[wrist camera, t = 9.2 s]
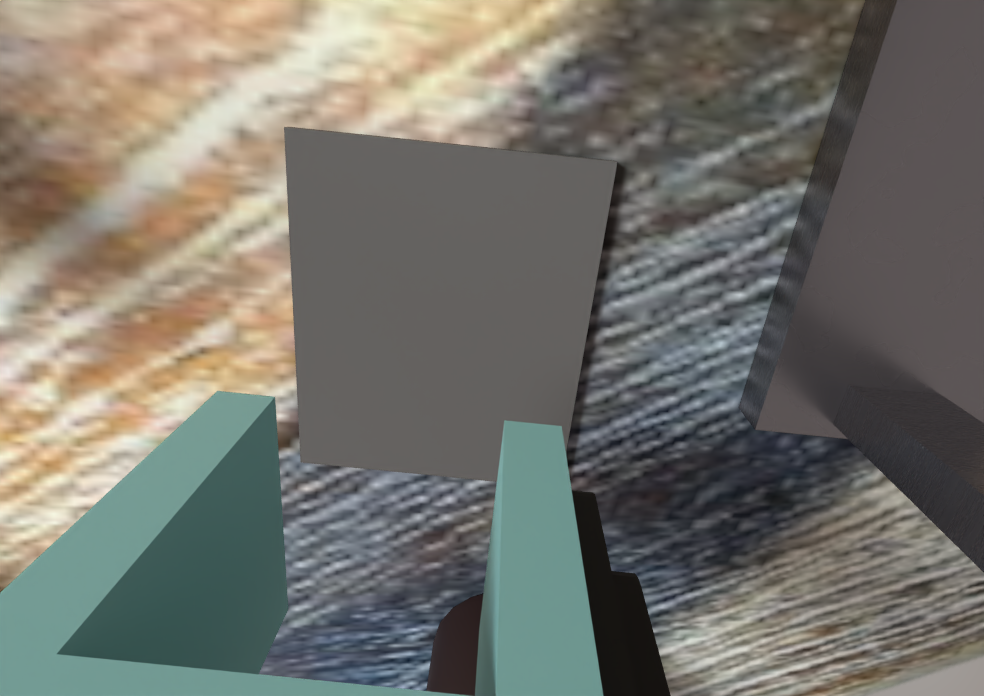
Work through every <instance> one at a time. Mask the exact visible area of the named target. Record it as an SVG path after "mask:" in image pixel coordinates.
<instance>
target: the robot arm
mask: <svg viewBox="0 0 984 696" xmlns="http://www.w3.org/2000/svg"><path fill="white" fill-rule="evenodd" d="M572 496H573V503H574V509H575V516H576V522H577V529H578V535H579V542H580V548H581V555H582V561H583V568H584V574H585V580H586V587H587V593H588V600H589V606H590V613H591V619H592V626H593V632H594V639H595V645H596V652H597V658H598V664H599V671H600V677H601V684H602V690H603V696H670V692H669V688H668V685H667V681H666V677H665V674H664V670H663V666H662V662H661V659H660V655H659V651H658V648H657V644H656V640H655V636H654V633H653V629H652V625H651V622H650V618H649V614H648V610H647V607H646V603H645V599H644V596H643V592H642V588H641V585H640V582H639V579H638V577H637V576H636V574H635V573H625V572H616V571H611V567H610V562H609V557H608V553H607V548H606V543H605V539H604V534H603V529H602V525H601V520H600V515H599V511H598V506H597V501H596V497H595V494H594V493H592V492H582V491H572Z"/></svg>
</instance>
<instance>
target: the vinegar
mask: <svg viewBox="0 0 984 696" xmlns="http://www.w3.org/2000/svg"><path fill="white" fill-rule="evenodd" d="M482 602H483V594H481V595H477V596H473V597H471V598H469V599H467V600H465V601H464V602H462V603H460V604H458V605H457V606H455V607H453V608H452V609H451V611H450V612H449V613H448V614H447V615H446V616H445V617H444V619H443V620H442V621H441V622H440V624H439V627H438V630H437V633H436V636H435V639H434V642H433V649H432V656H431V663H430V670H429V676H428V683H427V690H426V691H429V692H439V693H449V694H459V695H469V696H475V686H476V671H477V657H478V642H479V627H480V619H481V611H482Z"/></svg>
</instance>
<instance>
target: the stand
mask: <svg viewBox="0 0 984 696" xmlns="http://www.w3.org/2000/svg"><path fill="white" fill-rule="evenodd" d="M739 409H740V410H741V412H742V413H743V414H744V416H745V417H746V418H747V420H748V421H749V422H750V423H751V425H752V426H753V427H754V429H755V430H764V431H774V432H784V433H794V434H804V435H814V436H824V437H833V438H843V439H849V440H850V441H851V442H852V443H853V444H854V445H855V446H856V447H857V448H858V449H859V450H860V451H861V452H862V453H863V454H864V455H865V456H866V457H867V458H868V459H869V460H870V461H871V462H872V463H873V464H874V465H875V466H876V467H877V468H878V469H879V470H880V471H881V472H882V473H883V474H884V475H885V476H886V477H887V478H888V479H889V480H890V481H891V482H892V483H893V484H894V485H895V486H896V487H897V488H898V489H899V490H900V491H902V492H903V493H904V494H905V495H906V496H907V497H908V498H909V499H910V500H911V501H912V502H913V503H914V504H915V505H916V506H917V507H918V508H919V509H920V510H921V511H922V512H923V513H924V514H925V515H926V516H927V517H928V518H929V519H930V520H931V521H932V522H933V523H934V524H935V525H936V526H937V527H938V528H939V529H940V530H941V531H942V532H943V533H944V534H945V535H946V536H947V537H948V538H949V539H950V540H951V541H952V542H953V543H954V544H955V545H956V546H958V547H959V548H960V549H961V550H962V551H963V552H964V553H965V554H966V555H967V556H968V557H969V558H970V559H971V560H972V561H973V562H974V563H975V564H976V565H977V566H978V567H979V568H980V569H981V570H982V571H983V572H984V0H865V4H864V7H863V10H862V13H861V17H860V20H859V23H858V26H857V29H856V33H855V36H854V39H853V42H852V45H851V49H850V52H849V55H848V58H847V61H846V65H845V68H844V71H843V74H842V78H841V81H840V84H839V87H838V90H837V94H836V97H835V100H834V103H833V106H832V110H831V113H830V116H829V119H828V122H827V126H826V129H825V132H824V135H823V139H822V142H821V145H820V148H819V151H818V155H817V158H816V161H815V164H814V167H813V171H812V174H811V177H810V180H809V183H808V187H807V190H806V193H805V196H804V200H803V203H802V206H801V209H800V212H799V216H798V219H797V222H796V225H795V228H794V232H793V235H792V238H791V241H790V244H789V248H788V251H787V254H786V257H785V261H784V264H783V267H782V270H781V273H780V277H779V280H778V283H777V286H776V289H775V293H774V296H773V299H772V302H771V305H770V309H769V312H768V315H767V318H766V322H765V325H764V328H763V331H762V334H761V338H760V341H759V344H758V347H757V350H756V354H755V357H754V360H753V363H752V366H751V370H750V373H749V376H748V379H747V382H746V386H745V389H744V392H743V395H742V399H741V402H740V405H739Z"/></svg>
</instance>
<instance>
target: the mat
mask: <svg viewBox="0 0 984 696" xmlns="http://www.w3.org/2000/svg"><path fill="white" fill-rule="evenodd" d="M284 133H285V154H286V174H287V194H288V215H289V235H290V255H291V276H292V296H293V316H294V336H295V357H296V377H297V397H298V418H299V438H300V458H301V462H303V463H313V464H324V465H334V466H344V467H354V468H364V469H374V470H384V471H394V472H404V473H415V474H425V475H435V476H445V477H455V478H465V479H475V480H485V481H495V482H497V478H498V469H499V461H500V453H501V445H502V436H503V428H504V420H506V421H516V422H525V423H535V424H545V425H555V426H562V432H563V438H564V445H565V451H566V450H567V445H568V439H569V433H570V428H571V422H572V416H573V411H574V405H575V399H576V394H577V388H578V382H579V377H580V371H581V365H582V360H583V354H584V348H585V343H586V337H587V331H588V326H589V320H590V314H591V309H592V303H593V297H594V292H595V286H596V280H597V275H598V269H599V263H600V258H601V252H602V247H603V241H604V235H605V230H606V224H607V218H608V213H609V207H610V201H611V196H612V190H613V184H614V179H615V173H616V167H617V161H612V160H603V159H593V158H583V157H574V156H564V155H555V154H545V153H535V152H526V151H516V150H506V149H497V148H487V147H477V146H468V145H458V144H449V143H439V142H429V141H420V140H410V139H400V138H391V137H381V136H372V135H362V134H352V133H343V132H333V131H323V130H314V129H304V128H295V127H284Z"/></svg>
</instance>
